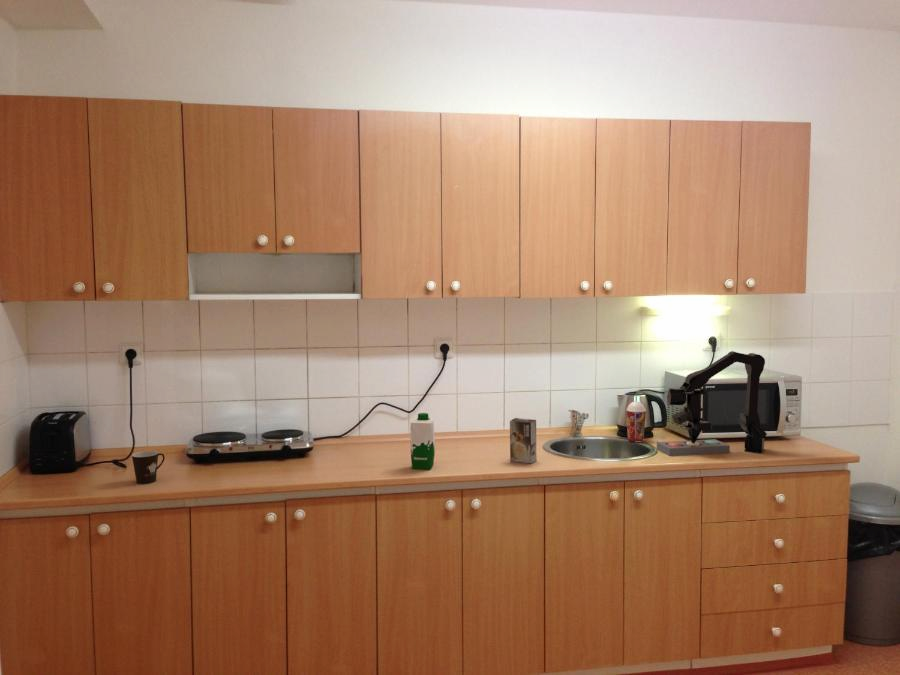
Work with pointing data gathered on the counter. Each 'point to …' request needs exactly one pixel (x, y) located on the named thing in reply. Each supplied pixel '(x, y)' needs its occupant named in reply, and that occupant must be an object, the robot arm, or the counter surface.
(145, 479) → the coffee mug
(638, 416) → the smoothie
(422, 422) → the milk carton
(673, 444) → the red button
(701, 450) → the button panel
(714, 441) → the teal button
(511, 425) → the coffee box
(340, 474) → the counter surface
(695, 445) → the cream button
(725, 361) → the robot arm
